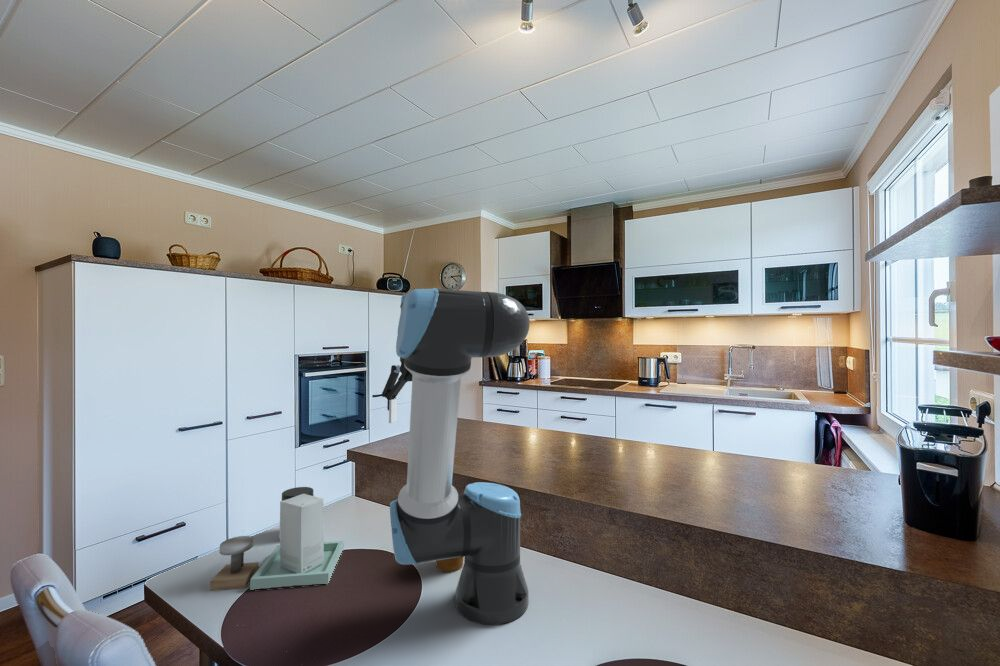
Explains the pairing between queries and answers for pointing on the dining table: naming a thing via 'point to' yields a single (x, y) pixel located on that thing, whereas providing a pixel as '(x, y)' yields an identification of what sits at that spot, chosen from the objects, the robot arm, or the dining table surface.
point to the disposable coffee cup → (450, 564)
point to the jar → (296, 493)
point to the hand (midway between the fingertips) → (412, 424)
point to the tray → (278, 576)
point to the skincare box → (301, 533)
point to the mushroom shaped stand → (235, 565)
